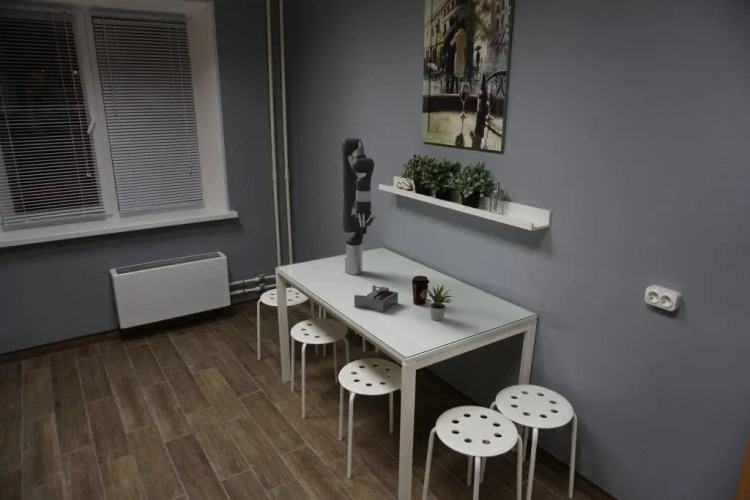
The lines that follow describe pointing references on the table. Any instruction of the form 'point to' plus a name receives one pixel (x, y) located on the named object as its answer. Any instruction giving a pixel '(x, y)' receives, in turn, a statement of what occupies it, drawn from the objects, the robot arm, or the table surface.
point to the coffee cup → (420, 289)
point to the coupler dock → (374, 303)
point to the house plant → (438, 303)
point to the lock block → (382, 296)
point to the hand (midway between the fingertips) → (363, 233)
